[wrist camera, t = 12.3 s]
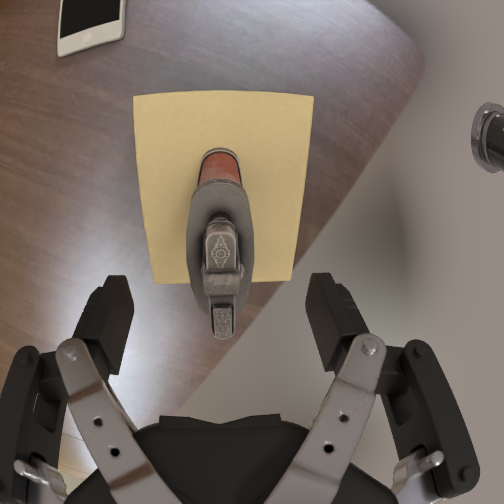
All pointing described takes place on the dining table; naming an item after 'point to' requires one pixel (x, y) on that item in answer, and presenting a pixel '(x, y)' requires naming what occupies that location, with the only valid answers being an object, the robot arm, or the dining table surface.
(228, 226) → the lighter
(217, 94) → the lunchbox lid
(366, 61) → the dining table surface
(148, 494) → the robot arm
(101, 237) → the dining table surface
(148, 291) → the dining table surface
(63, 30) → the smartphone
